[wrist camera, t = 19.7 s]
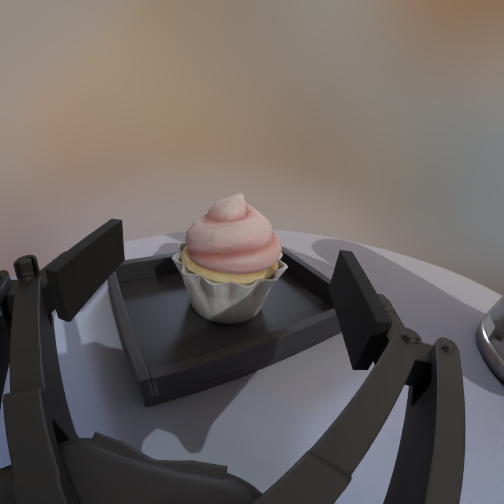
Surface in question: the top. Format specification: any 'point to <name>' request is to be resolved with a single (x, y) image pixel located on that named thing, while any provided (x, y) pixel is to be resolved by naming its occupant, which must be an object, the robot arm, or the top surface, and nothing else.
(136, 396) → the top surface
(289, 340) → the baking tray
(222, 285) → the cupcake
